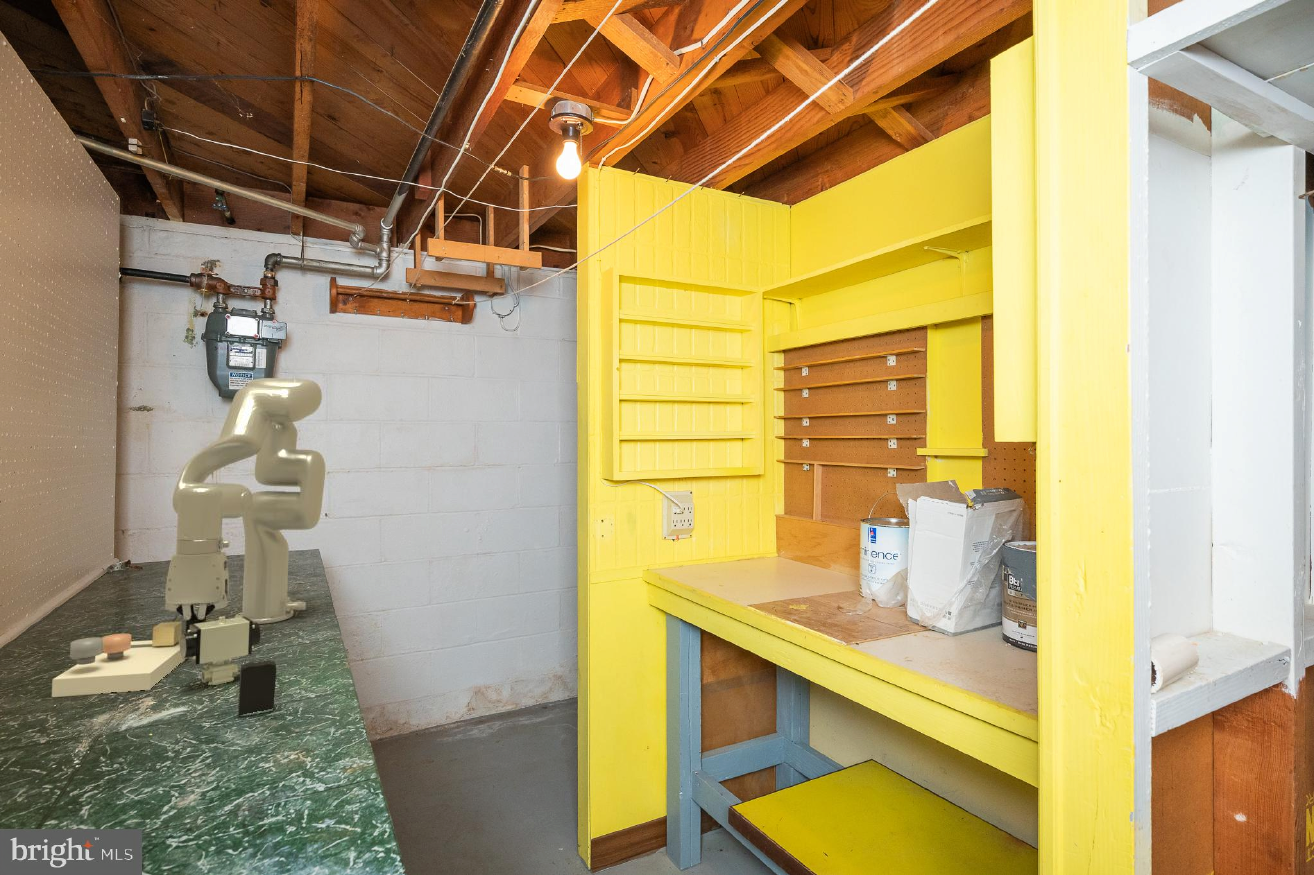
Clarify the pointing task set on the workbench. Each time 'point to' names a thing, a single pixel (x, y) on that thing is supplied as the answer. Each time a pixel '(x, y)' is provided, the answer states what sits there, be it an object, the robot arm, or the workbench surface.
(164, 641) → the brass slider
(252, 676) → the ink cartridge
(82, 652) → the grey button
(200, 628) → the pneumatic valve
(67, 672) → the control panel
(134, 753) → the workbench surface
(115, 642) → the terracotta button
